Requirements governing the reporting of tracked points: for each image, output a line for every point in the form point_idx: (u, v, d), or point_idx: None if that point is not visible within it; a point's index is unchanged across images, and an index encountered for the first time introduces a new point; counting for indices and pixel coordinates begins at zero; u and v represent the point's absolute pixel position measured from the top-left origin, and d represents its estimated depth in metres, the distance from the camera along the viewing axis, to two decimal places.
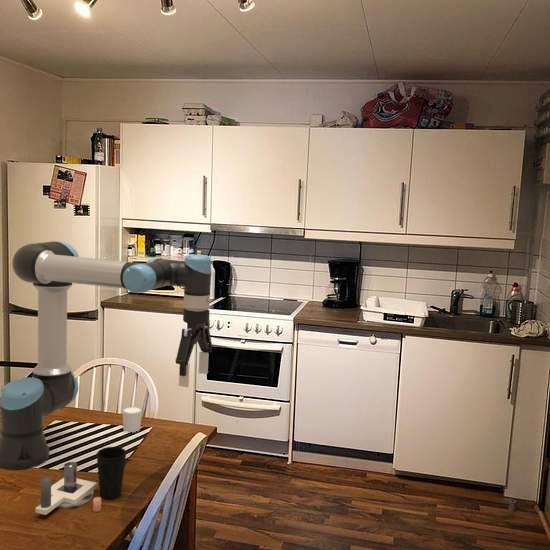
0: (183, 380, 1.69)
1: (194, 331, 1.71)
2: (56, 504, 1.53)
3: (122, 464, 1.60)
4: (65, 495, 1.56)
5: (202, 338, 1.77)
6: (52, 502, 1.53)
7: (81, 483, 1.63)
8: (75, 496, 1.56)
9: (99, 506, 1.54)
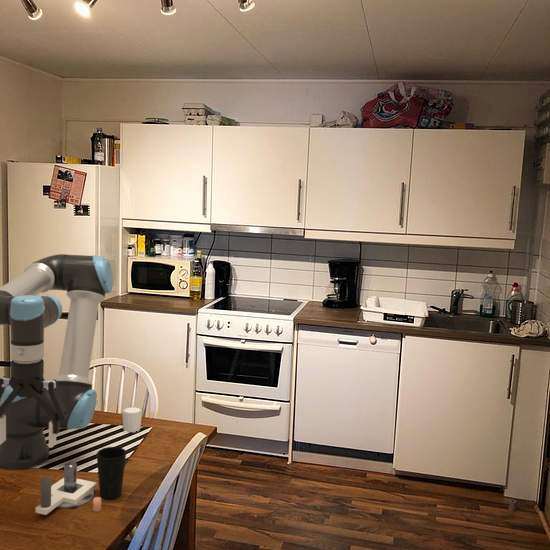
0: None
1: (12, 383, 1.46)
2: (56, 504, 1.53)
3: (122, 464, 1.60)
4: (65, 495, 1.56)
5: None
6: (52, 502, 1.53)
7: (81, 483, 1.63)
8: (75, 496, 1.56)
9: (99, 506, 1.54)
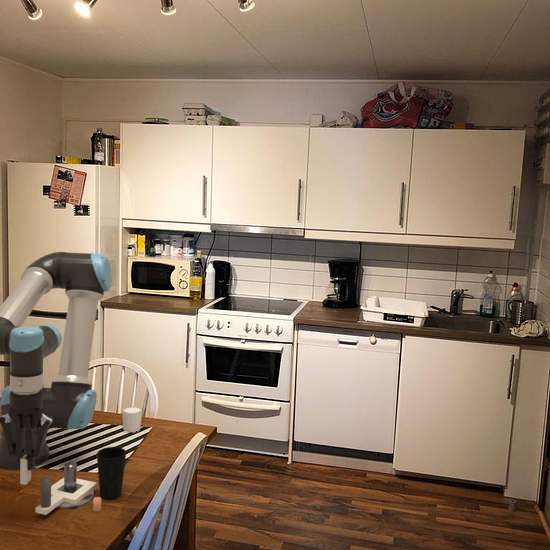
0: None
1: (11, 414, 1.47)
2: (56, 504, 1.53)
3: (122, 464, 1.60)
4: (65, 495, 1.56)
5: None
6: (52, 502, 1.53)
7: (81, 483, 1.63)
8: (75, 496, 1.56)
9: (99, 506, 1.54)
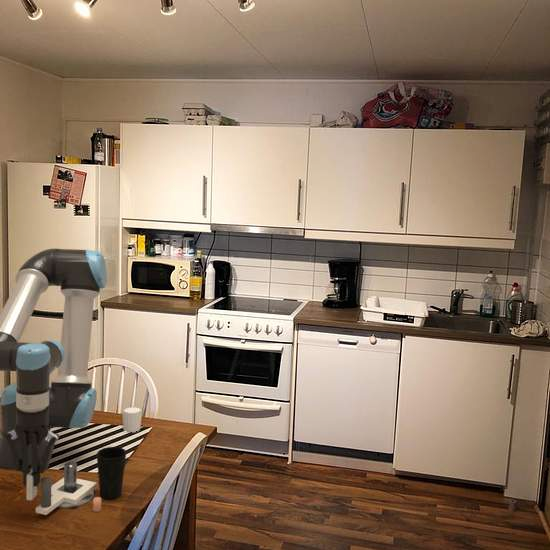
0: None
1: (17, 431, 1.47)
2: (56, 504, 1.53)
3: (122, 464, 1.60)
4: (65, 495, 1.56)
5: None
6: (52, 502, 1.53)
7: (81, 483, 1.63)
8: (75, 496, 1.56)
9: (99, 506, 1.54)
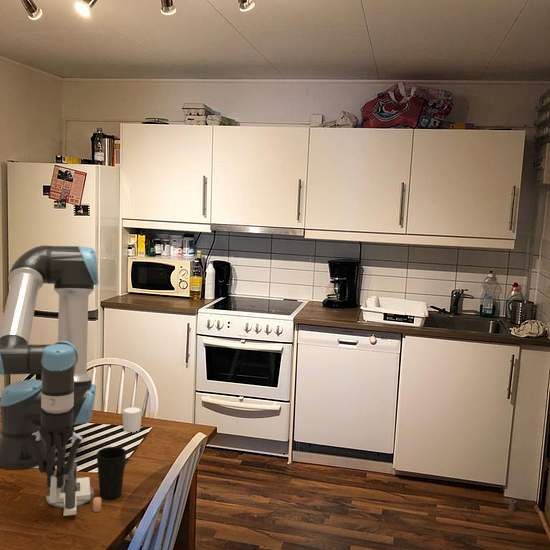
0: None
1: (41, 432, 1.47)
2: None
3: (122, 464, 1.60)
4: (75, 494, 1.57)
5: None
6: None
7: None
8: (85, 492, 1.59)
9: (99, 506, 1.54)
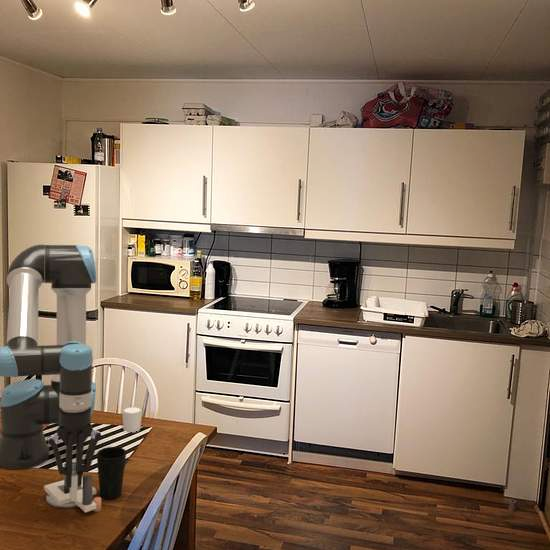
0: (70, 492, 1.50)
1: (61, 434, 1.46)
2: None
3: (122, 464, 1.60)
4: (81, 491, 1.59)
5: (77, 446, 1.49)
6: None
7: None
8: None
9: (99, 506, 1.54)
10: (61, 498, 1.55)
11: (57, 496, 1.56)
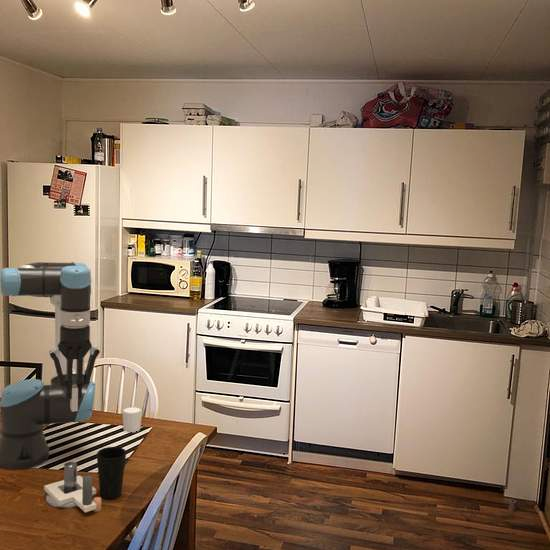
0: (71, 403, 1.62)
1: (62, 348, 1.57)
2: None
3: (122, 464, 1.60)
4: (81, 491, 1.59)
5: (77, 361, 1.60)
6: None
7: None
8: None
9: (99, 506, 1.54)
10: (61, 498, 1.55)
11: (57, 496, 1.56)
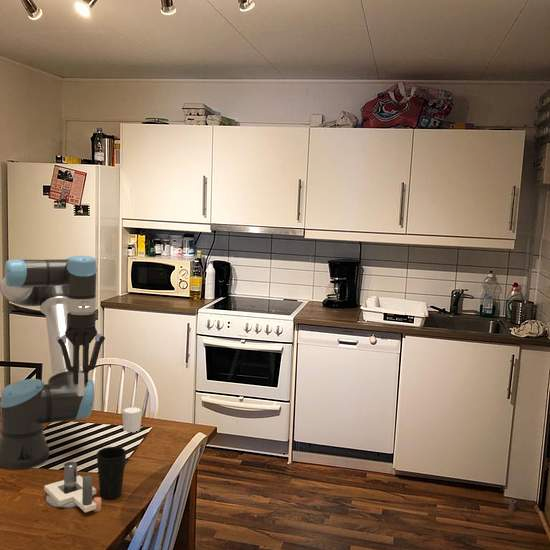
0: (77, 388, 1.68)
1: (69, 335, 1.64)
2: None
3: (122, 464, 1.60)
4: (81, 491, 1.59)
5: (84, 347, 1.67)
6: None
7: None
8: None
9: (99, 506, 1.54)
10: (61, 498, 1.55)
11: (57, 496, 1.56)
